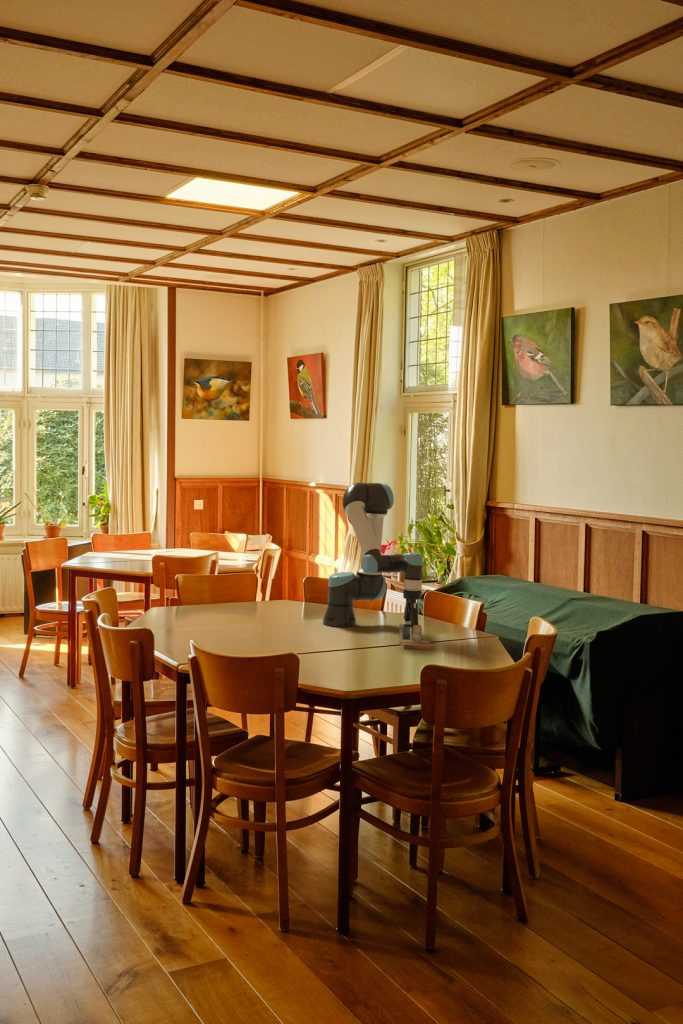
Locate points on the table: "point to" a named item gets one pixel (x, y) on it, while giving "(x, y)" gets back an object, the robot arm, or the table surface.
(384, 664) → the table surface
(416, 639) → the post block
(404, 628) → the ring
